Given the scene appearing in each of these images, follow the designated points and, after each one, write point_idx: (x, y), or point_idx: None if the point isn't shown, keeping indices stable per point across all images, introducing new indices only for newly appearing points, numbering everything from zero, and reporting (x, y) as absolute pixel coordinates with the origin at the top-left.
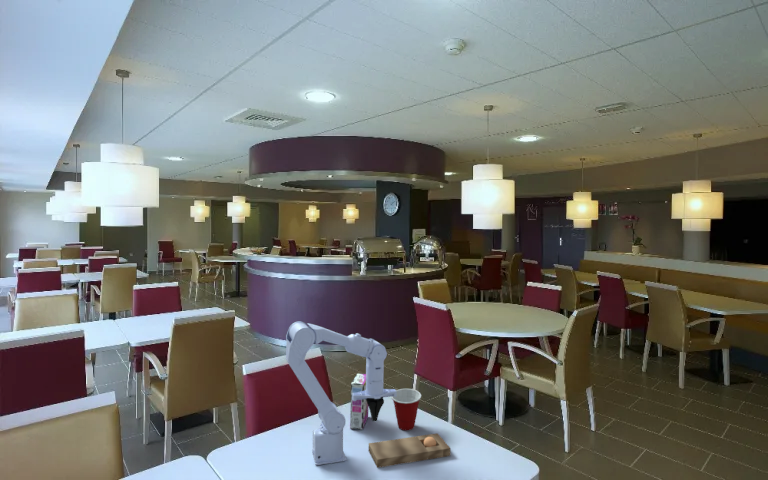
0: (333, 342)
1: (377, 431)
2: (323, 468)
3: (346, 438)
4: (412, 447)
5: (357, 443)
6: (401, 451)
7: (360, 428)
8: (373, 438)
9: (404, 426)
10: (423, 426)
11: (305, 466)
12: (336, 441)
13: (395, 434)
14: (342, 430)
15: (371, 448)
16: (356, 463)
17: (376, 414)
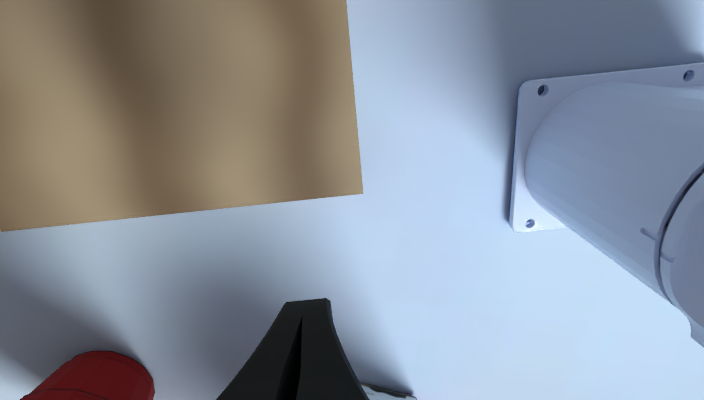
0: None
1: None
2: (676, 24)
3: (454, 317)
4: (28, 76)
5: (407, 263)
6: (123, 30)
7: (365, 388)
8: (308, 299)
9: (105, 369)
10: (3, 378)
11: None
12: (699, 101)
13: (176, 322)
14: (682, 181)
15: (355, 120)
16: (463, 43)
17: (281, 348)
